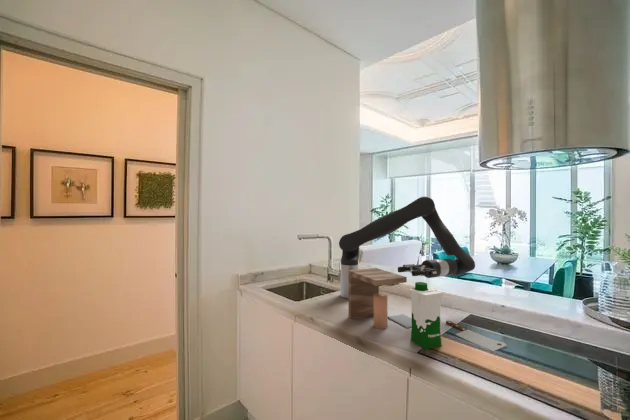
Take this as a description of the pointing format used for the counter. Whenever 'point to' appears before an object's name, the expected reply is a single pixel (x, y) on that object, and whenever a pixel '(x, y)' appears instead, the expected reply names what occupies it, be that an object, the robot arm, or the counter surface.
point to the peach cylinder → (380, 310)
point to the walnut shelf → (367, 289)
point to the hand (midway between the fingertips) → (405, 271)
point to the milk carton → (425, 316)
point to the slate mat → (402, 320)
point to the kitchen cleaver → (477, 338)
